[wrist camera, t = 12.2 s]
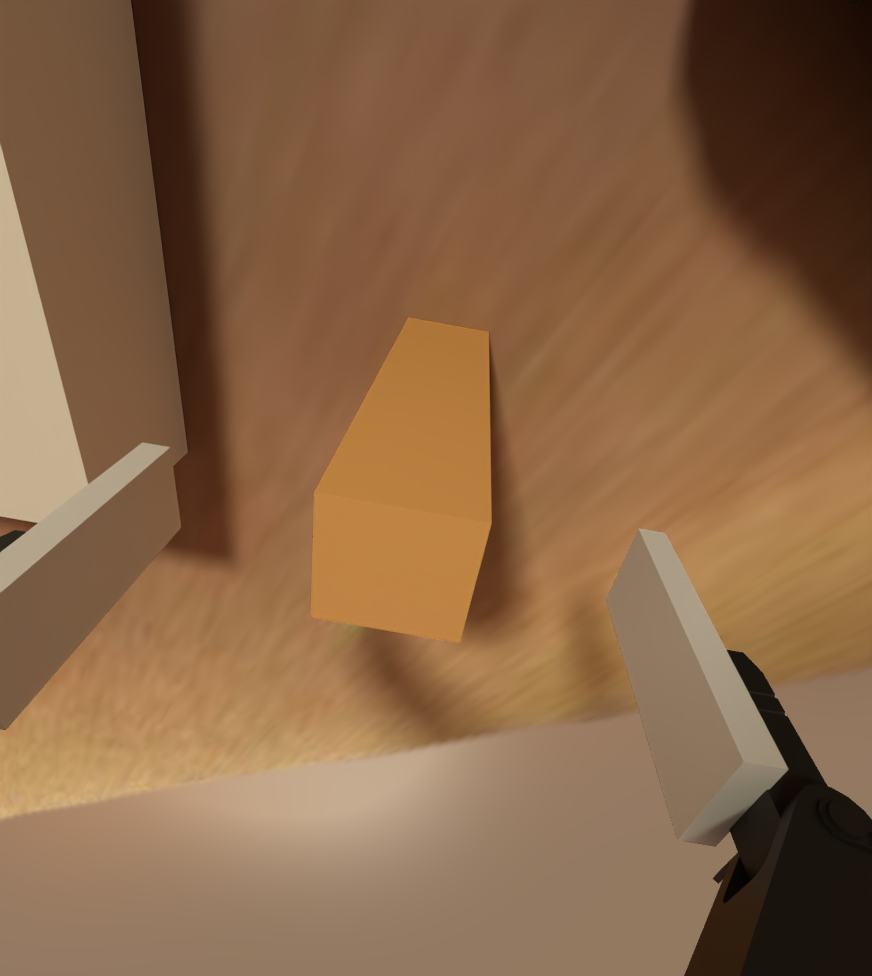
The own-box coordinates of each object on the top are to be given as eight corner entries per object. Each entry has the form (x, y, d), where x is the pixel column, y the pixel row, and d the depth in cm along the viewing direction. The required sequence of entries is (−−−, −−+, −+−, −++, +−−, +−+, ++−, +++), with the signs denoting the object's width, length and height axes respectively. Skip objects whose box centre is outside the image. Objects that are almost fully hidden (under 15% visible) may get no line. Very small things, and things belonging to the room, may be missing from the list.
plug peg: (408, 317, 25) (314, 492, 11) (488, 331, 25) (491, 523, 11) (399, 393, 27) (310, 617, 13) (473, 406, 27) (459, 643, 13)
